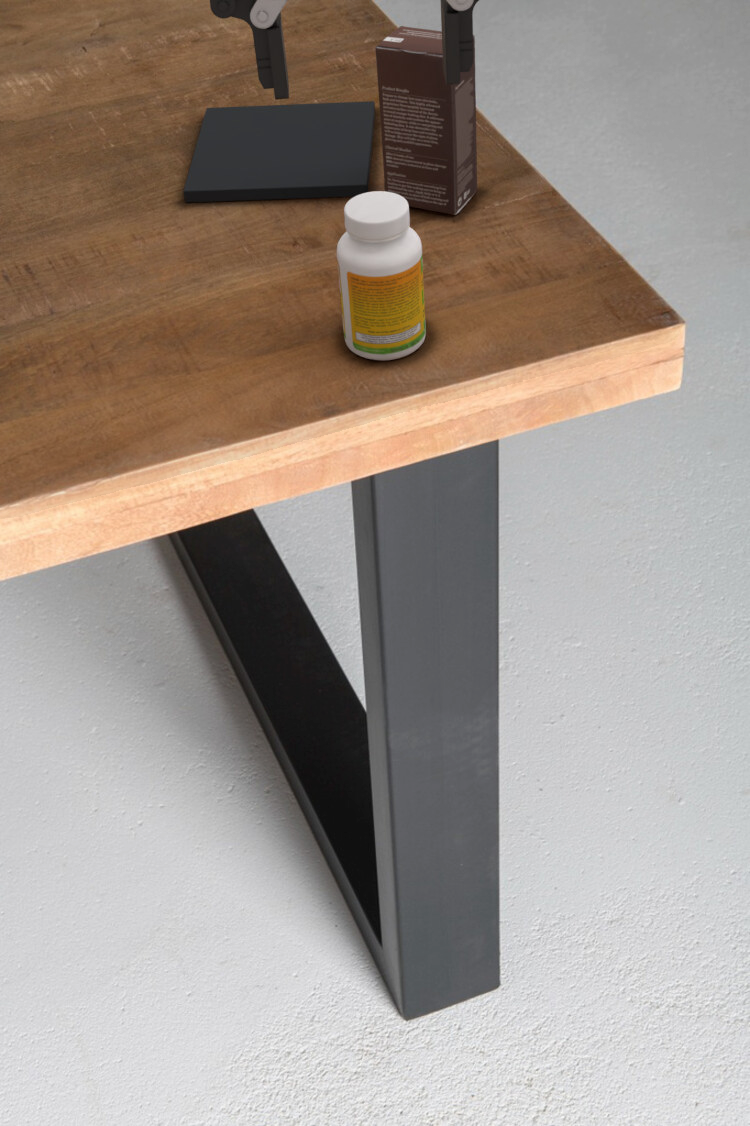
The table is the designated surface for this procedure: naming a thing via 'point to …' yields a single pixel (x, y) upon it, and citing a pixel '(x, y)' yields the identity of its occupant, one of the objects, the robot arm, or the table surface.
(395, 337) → the supplement bottle
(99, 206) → the table surface
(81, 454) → the table surface
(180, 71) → the table surface
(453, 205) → the box
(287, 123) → the charcoal mat
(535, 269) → the table surface
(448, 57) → the robot arm
